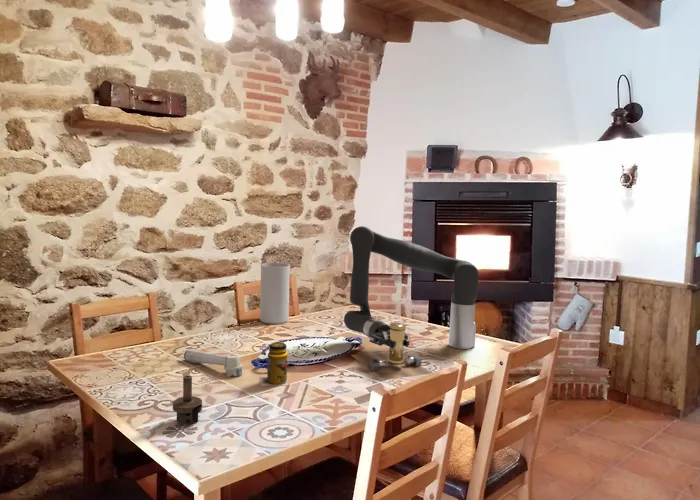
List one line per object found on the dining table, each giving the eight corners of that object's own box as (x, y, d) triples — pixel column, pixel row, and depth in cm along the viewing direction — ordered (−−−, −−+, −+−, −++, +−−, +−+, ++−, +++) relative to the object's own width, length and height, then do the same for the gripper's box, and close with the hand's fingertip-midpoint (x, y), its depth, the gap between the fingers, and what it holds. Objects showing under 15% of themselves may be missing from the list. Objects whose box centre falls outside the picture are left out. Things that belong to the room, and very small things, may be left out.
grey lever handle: (194, 347, 193) (245, 352, 179) (195, 366, 193) (247, 373, 179) (181, 350, 189) (233, 356, 174) (183, 370, 189) (234, 377, 175)
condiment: (289, 385, 171) (290, 347, 170) (261, 386, 169) (261, 348, 168) (286, 377, 178) (287, 340, 177) (259, 378, 176) (260, 341, 175)
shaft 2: (412, 362, 196) (413, 354, 196) (421, 365, 192) (421, 357, 192) (401, 364, 193) (401, 356, 192) (410, 368, 189) (410, 360, 189)
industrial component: (165, 422, 142) (165, 377, 141) (187, 413, 149) (187, 369, 147) (192, 432, 138) (192, 385, 136) (213, 422, 144) (213, 376, 142)
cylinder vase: (273, 315, 256) (274, 261, 253) (294, 320, 249) (295, 265, 246) (254, 320, 246) (254, 264, 243) (274, 325, 239) (276, 268, 236)
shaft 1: (383, 366, 190) (384, 358, 190) (387, 370, 186) (387, 362, 185) (368, 367, 189) (369, 359, 188) (372, 371, 185) (372, 363, 184)
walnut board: (394, 352, 209) (394, 350, 208) (432, 374, 185) (432, 373, 185) (350, 356, 201) (350, 355, 201) (384, 381, 178) (384, 379, 178)
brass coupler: (398, 358, 193) (400, 322, 191) (406, 363, 188) (408, 326, 186) (385, 360, 191) (386, 323, 189) (392, 365, 186) (394, 327, 184)
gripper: (359, 322, 198) (382, 335, 182) (395, 319, 204) (420, 332, 188) (358, 342, 199) (381, 357, 183) (394, 339, 205) (418, 353, 189)
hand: (400, 344), depth 186 cm, fingers closed on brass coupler, 4 cm apart
